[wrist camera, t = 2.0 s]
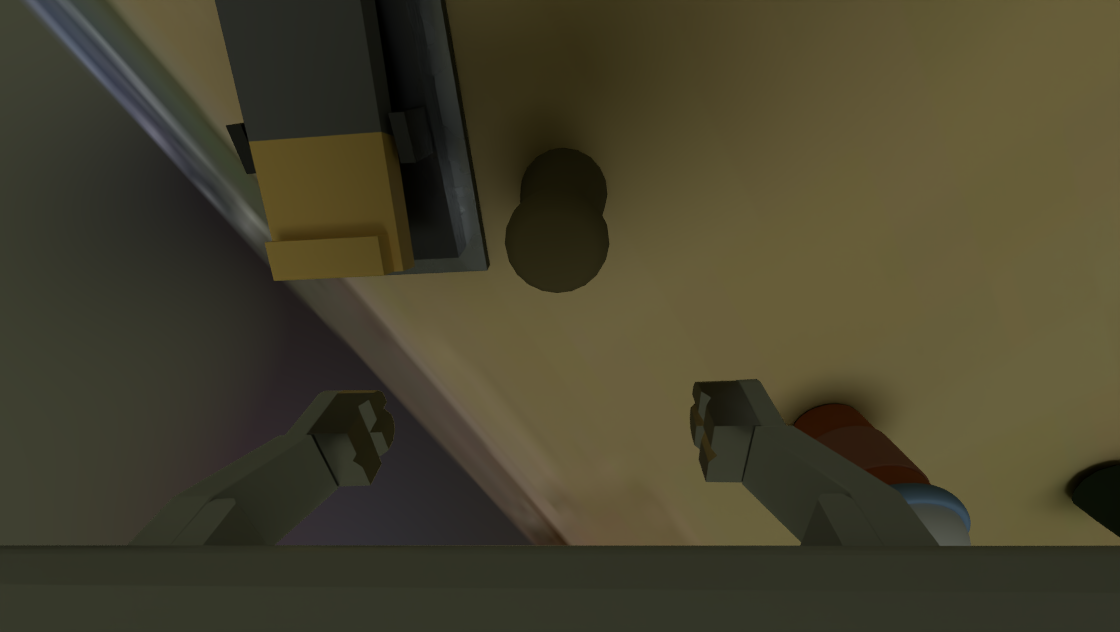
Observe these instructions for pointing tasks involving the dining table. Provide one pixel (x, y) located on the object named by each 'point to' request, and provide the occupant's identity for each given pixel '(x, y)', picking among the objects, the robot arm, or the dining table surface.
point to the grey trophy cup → (1101, 497)
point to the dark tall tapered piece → (559, 222)
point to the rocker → (320, 135)
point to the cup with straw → (888, 469)
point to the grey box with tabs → (424, 138)
